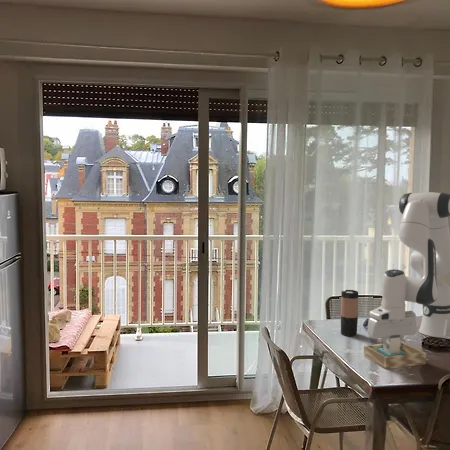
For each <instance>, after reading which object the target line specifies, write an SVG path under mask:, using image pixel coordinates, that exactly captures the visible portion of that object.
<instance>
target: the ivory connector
mask: <svg viewBox="0 0 450 450" xmlns="http://www.w3.org/2000/svg"><path fill="white" fill-rule="evenodd" d="M386 342H387V343H388V344H389V348H384V351H386V352H388V353H390V354H393V353H399V352H400V335H392V336H391V337H387V340H386Z"/></svg>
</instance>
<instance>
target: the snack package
mask: <svg viewBox="0 0 450 450" xmlns="http://www.w3.org/2000/svg"><path fill="white" fill-rule="evenodd" d="M369 319H370V318H366V319H365V320H364V321H363V324H362V327H363V328H364V330H365V332H367V330H368V321H369Z"/></svg>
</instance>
